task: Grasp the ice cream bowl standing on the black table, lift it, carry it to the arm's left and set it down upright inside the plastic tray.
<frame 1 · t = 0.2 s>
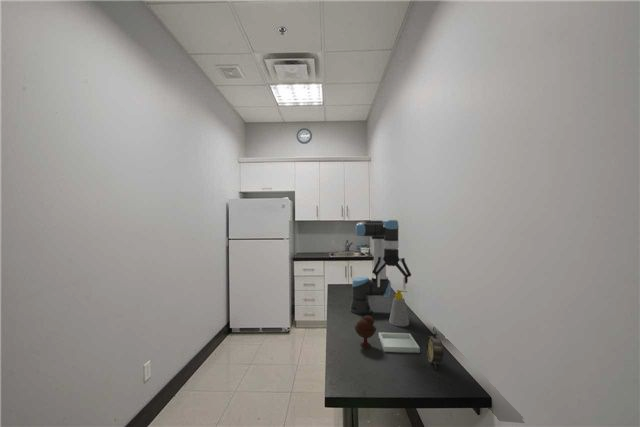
hand: (391, 288, 145), 28 cm above the table, fingers open, 13 cm apart
soap bottle: (399, 323, 170), on the table
tray: (397, 344, 139), on the table
ice cream bowl: (365, 345, 138), on the table
alarm clock: (435, 365, 120), on the table
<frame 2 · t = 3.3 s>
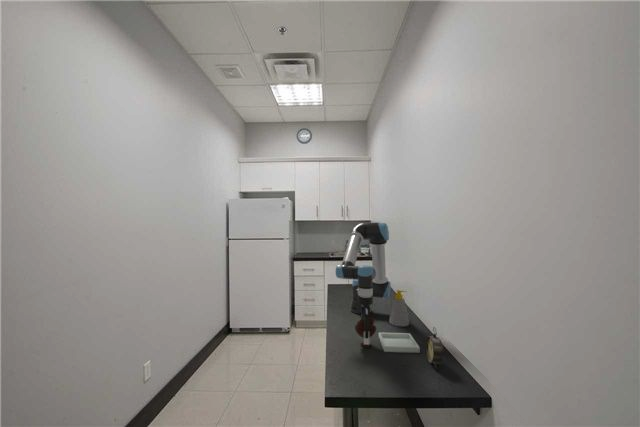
hand: (365, 339, 138), 3 cm above the table, fingers closed on ice cream bowl, 11 cm apart
ice cream bowl: (365, 345, 138), on the table, touching gripper
everything else where it was.
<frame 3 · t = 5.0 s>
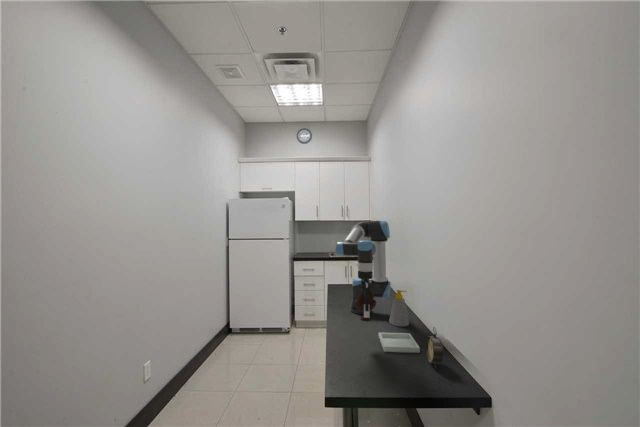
hand: (365, 313, 139), 16 cm above the table, fingers closed on ice cream bowl, 11 cm apart
ice cream bowl: (365, 319, 139), point 13 cm above the table, touching gripper
everything else where it was.
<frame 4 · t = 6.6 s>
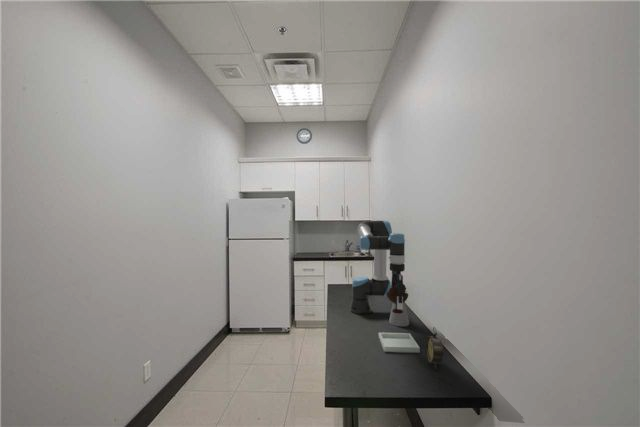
hand: (397, 305, 140), 20 cm above the table, fingers closed on ice cream bowl, 11 cm apart
ice cream bowl: (397, 312, 140), point 17 cm above the table, touching gripper
everything else where it was.
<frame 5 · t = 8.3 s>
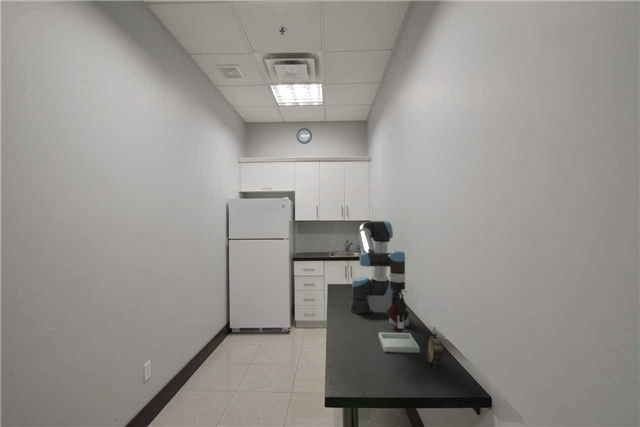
hand: (397, 323, 140), 11 cm above the table, fingers closed on ice cream bowl, 11 cm apart
ice cream bowl: (398, 330, 139), point 7 cm above the table, touching gripper
everything else where it was.
when the fingers open (5 cm above the table, at t = 9.9 s): ice cream bowl drops 2 cm, resting on tray.
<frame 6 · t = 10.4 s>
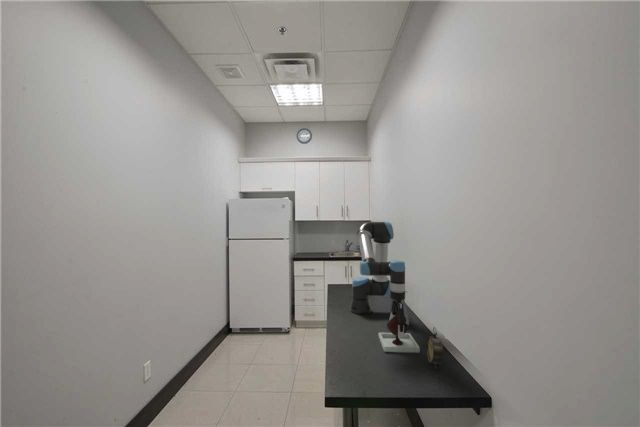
hand: (397, 332, 140), 6 cm above the table, fingers open, 13 cm apart
ice cream bowl: (397, 343, 140), resting on tray
everything else where it was.
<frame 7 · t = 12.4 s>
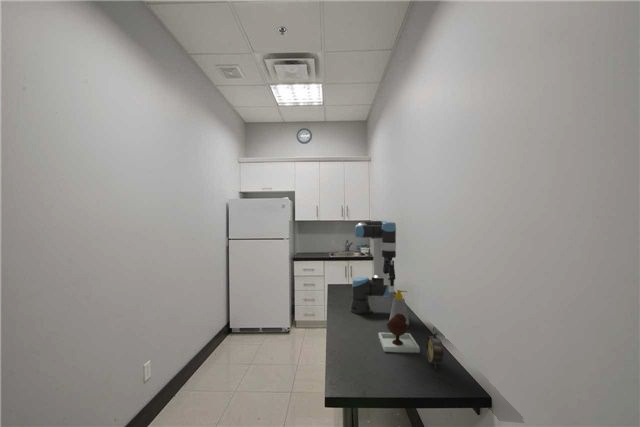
hand: (388, 288, 150), 27 cm above the table, fingers open, 13 cm apart
nothing on the table moved.
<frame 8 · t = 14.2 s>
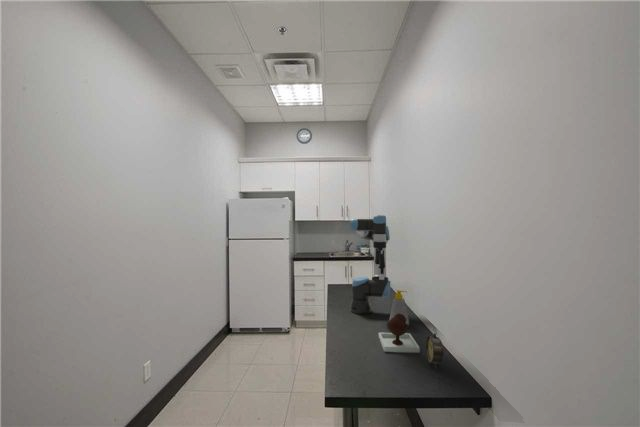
hand: (379, 277, 160), 31 cm above the table, fingers open, 13 cm apart
nothing on the table moved.
at the end: ice cream bowl inside the target area on the tray (0.6 cm from its centre), point 0.3 cm above the tray's base; ice cream bowl tilted 0°; the gripper is holding nothing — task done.
